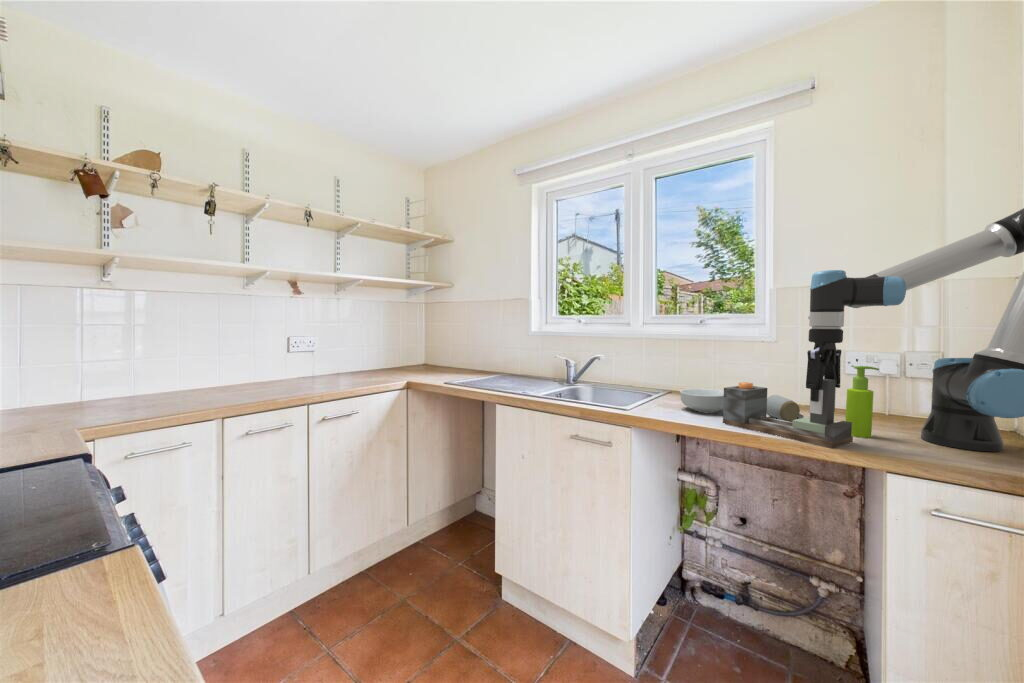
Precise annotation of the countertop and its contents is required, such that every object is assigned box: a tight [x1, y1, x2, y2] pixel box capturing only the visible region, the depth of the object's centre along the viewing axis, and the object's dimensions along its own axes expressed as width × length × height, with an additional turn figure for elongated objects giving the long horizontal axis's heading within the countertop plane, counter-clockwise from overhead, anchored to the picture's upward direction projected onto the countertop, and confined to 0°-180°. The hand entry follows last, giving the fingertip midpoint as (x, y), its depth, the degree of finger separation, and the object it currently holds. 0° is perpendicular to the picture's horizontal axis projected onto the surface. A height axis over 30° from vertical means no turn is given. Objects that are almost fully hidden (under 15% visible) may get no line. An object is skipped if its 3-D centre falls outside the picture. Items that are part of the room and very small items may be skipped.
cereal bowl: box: [679, 388, 724, 414], centre depth 153 cm, size 17×17×7 cm
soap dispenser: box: [845, 365, 880, 439], centre depth 120 cm, size 6×7×20 cm
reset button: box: [738, 381, 754, 390], centre depth 134 cm, size 4×4×3 cm
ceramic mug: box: [766, 394, 805, 422], centre depth 140 cm, size 11×8×8 cm
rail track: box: [722, 385, 854, 449], centre depth 124 cm, size 30×12×12 cm, turn 30°
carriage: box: [791, 378, 837, 434], centre depth 116 cm, size 8×8×14 cm
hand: (822, 411), depth 115 cm, fingers open, 6 cm apart
